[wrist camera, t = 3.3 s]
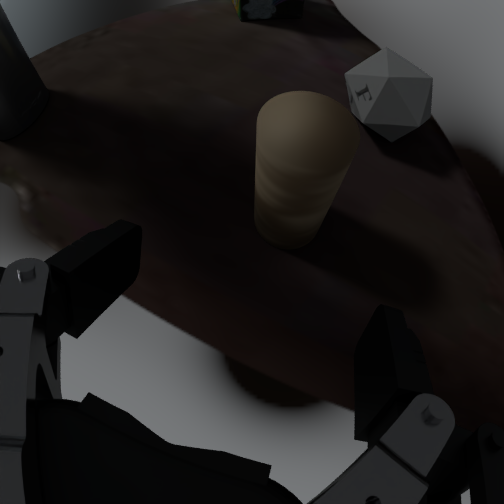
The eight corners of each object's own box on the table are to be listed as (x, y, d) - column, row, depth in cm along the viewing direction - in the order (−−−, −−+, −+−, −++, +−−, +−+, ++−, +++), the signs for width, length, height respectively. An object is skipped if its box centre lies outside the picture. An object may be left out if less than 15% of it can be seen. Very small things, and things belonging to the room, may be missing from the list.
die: (343, 86, 31) (324, 51, 23) (413, 68, 28) (415, 27, 19) (366, 153, 32) (355, 136, 23) (439, 135, 28) (454, 112, 19)
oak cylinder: (245, 237, 25) (242, 149, 14) (265, 182, 26) (273, 81, 16) (310, 258, 24) (351, 182, 14) (326, 200, 26) (365, 108, 15)
